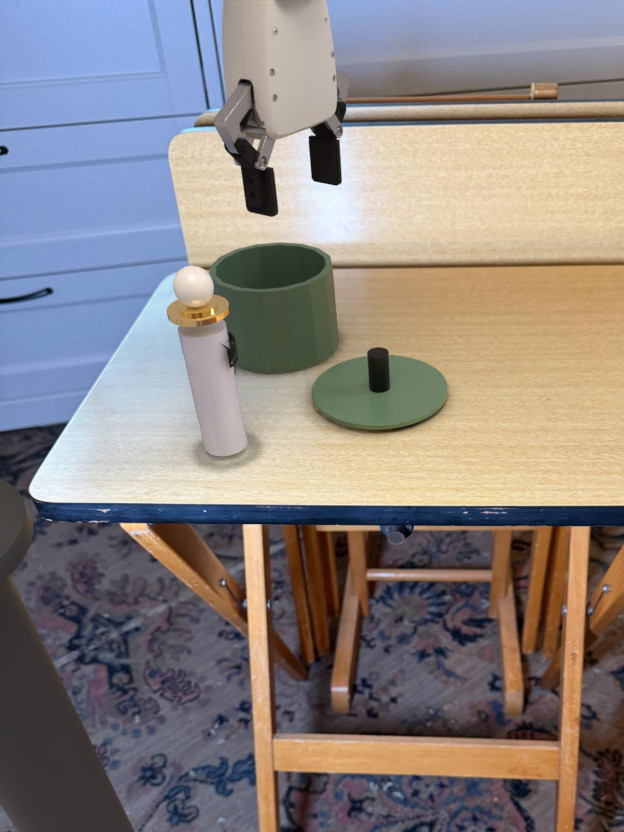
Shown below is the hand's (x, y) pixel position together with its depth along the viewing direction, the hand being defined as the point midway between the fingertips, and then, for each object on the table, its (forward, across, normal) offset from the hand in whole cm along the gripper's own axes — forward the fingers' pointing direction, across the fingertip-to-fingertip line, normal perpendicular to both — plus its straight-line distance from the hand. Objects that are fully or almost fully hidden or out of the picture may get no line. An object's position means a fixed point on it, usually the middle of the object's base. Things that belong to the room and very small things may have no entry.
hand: (296, 197), depth 73 cm
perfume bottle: (+24, +10, -5) cm, 27 cm away
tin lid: (+23, -7, +4) cm, 25 cm away
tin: (+24, -12, -14) cm, 30 cm away
